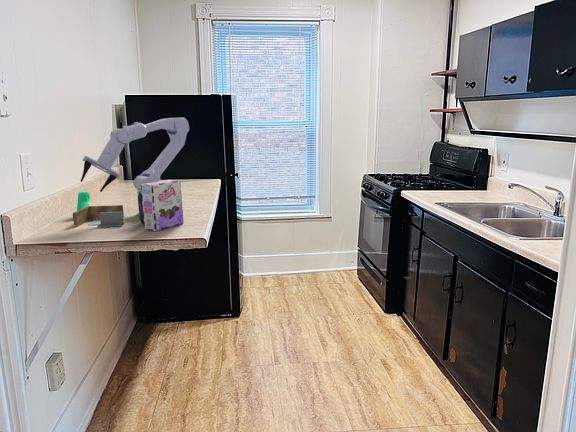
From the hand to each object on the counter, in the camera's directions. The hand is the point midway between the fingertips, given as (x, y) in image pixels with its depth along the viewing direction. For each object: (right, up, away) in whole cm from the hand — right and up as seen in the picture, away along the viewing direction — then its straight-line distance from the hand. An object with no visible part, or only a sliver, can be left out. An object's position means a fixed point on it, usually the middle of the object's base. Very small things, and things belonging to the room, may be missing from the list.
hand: (91, 186), depth 169 cm
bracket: (+9, -15, -4) cm, 18 cm away
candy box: (+30, -15, -7) cm, 34 cm away
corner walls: (+2, -14, +3) cm, 14 cm away
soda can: (+22, -14, 0) cm, 26 cm away
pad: (+2, -14, +3) cm, 14 cm away
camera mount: (-7, -11, +17) cm, 21 cm away
